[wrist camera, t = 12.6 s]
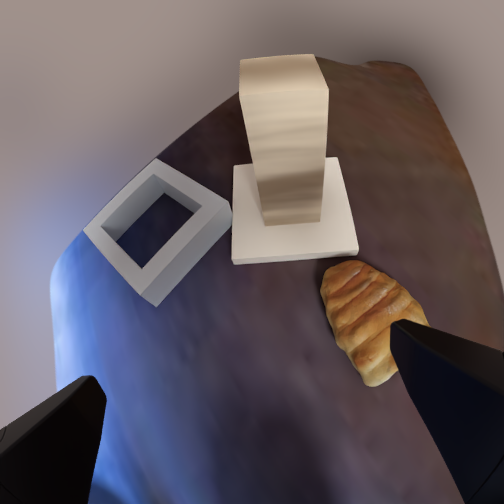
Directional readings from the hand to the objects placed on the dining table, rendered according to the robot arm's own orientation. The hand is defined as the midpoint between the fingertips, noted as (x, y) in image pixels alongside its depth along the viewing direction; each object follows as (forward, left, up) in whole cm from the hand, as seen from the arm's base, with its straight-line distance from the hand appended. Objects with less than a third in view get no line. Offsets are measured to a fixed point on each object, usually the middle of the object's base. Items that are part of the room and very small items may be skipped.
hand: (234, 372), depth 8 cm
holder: (+13, -10, -14) cm, 21 cm away
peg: (+2, -15, -13) cm, 19 cm away
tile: (+2, -15, -14) cm, 20 cm away
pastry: (-6, -6, -14) cm, 16 cm away
